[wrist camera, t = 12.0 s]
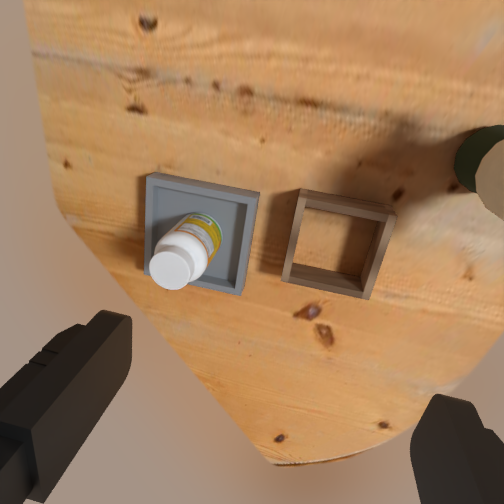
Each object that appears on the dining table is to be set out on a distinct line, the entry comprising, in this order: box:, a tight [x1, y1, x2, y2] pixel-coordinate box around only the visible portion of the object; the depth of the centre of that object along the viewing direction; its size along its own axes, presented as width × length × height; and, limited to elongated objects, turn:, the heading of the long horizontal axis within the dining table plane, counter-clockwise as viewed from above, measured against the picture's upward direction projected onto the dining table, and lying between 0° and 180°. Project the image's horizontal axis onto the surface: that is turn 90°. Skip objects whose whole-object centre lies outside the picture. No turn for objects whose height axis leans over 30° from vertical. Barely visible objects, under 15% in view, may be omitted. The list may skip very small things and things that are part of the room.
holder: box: [281, 188, 398, 300], centre depth 39 cm, size 10×10×4 cm
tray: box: [144, 172, 260, 296], centre depth 42 cm, size 12×12×2 cm
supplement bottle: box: [149, 212, 222, 290], centre depth 38 cm, size 5×5×10 cm
